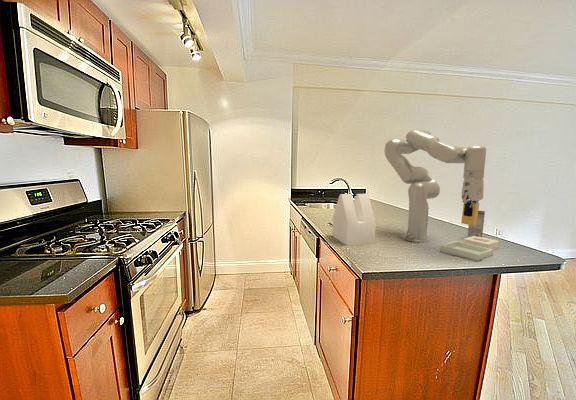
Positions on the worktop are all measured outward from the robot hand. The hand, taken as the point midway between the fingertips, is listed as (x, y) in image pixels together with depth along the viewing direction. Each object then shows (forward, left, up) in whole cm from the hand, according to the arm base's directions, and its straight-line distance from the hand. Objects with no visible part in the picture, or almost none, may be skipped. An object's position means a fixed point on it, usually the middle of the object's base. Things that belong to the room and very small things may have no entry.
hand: (469, 215), depth 123 cm
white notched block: (-28, +44, -18) cm, 56 cm away
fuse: (0, 0, -4) cm, 4 cm away
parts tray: (0, 0, -18) cm, 18 cm away
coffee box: (+27, +9, -18) cm, 34 cm away
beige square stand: (+16, +1, -18) cm, 24 cm away
